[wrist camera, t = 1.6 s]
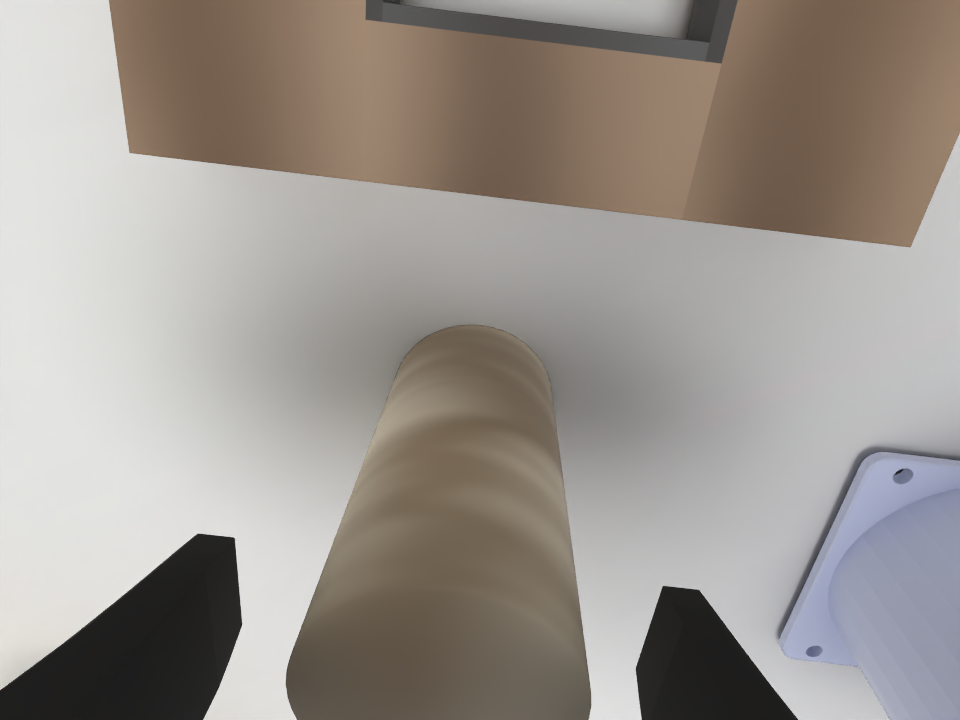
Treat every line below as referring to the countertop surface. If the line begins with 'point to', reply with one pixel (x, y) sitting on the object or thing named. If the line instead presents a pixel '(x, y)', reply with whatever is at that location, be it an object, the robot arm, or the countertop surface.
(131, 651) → the robot arm
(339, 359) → the countertop surface
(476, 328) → the birch peg
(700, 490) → the countertop surface
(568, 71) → the socket block
